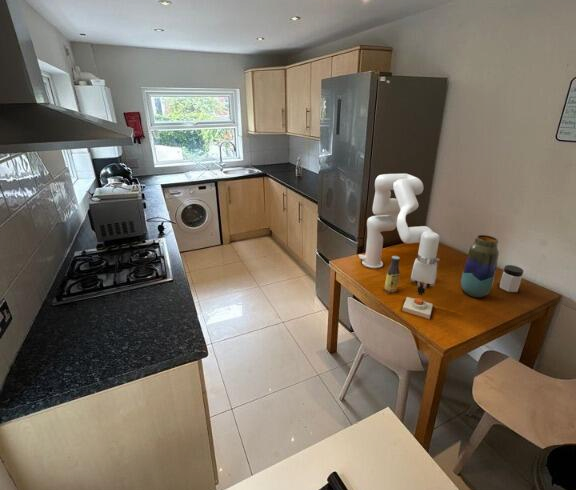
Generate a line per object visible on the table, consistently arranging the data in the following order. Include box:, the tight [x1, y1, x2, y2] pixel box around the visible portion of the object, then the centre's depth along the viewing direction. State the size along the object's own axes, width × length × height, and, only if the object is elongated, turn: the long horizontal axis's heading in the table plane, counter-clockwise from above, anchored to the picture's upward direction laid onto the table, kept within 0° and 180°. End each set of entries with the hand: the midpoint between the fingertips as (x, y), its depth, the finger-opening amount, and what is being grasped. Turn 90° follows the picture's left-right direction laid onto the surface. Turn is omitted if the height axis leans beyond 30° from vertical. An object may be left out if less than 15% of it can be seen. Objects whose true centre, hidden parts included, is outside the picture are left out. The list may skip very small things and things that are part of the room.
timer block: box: [402, 296, 434, 320], centre depth 144 cm, size 12×10×4 cm
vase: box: [460, 234, 500, 298], centre depth 153 cm, size 14×14×31 cm
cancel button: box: [415, 297, 424, 305], centre depth 143 cm, size 4×4×2 cm
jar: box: [499, 264, 524, 293], centre depth 160 cm, size 9×8×12 cm
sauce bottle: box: [384, 255, 401, 295], centre depth 156 cm, size 7×6×20 cm
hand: (420, 293), depth 142 cm, fingers closed
